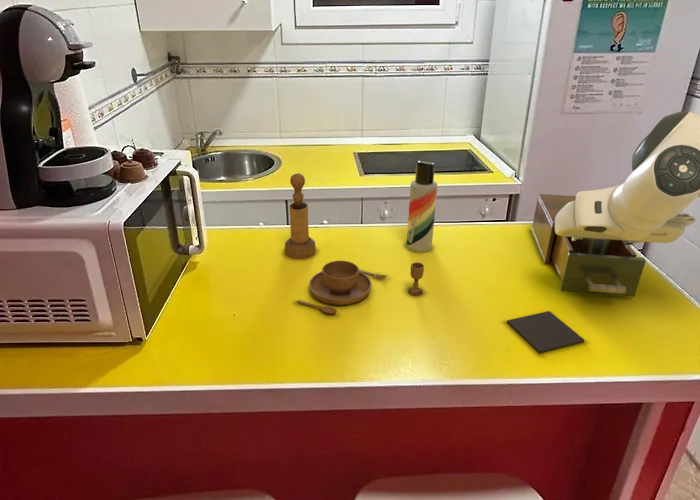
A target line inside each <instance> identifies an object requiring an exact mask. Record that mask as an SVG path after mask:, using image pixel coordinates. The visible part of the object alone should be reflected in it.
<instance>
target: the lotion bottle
mask: <svg viewBox="0 0 700 500" xmlns="http://www.w3.org/2000/svg"><path fill="white" fill-rule="evenodd" d="M415 165H416V166H415V177H414V180H412V181H411V182H410V186H409V200H408V201H409V203H408V215H407V231H406V247H407V249H408V250H410V251H413V252H417V253H424V252H425V253H426V252H428V251H430V250H431V249H432V246H433V240H434V239H433V238H434V228H435V215H436V207H437V206H436V205H437V195H438V183H437V182H436V181H435V180H434V179H435V169H436V168H435V166H436V163H435V162H432V161H428V160H423V159H419V160H417V161H416V164H415Z"/></svg>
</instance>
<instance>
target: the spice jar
mask: <svg viewBox="0 0 700 500" xmlns="http://www.w3.org/2000/svg"><path fill="white" fill-rule="evenodd" d="M610 241H611V239H596V238H583V242H582V246H581V250H580V253H582V254H596V255H607V252H608V249H609V245H610Z"/></svg>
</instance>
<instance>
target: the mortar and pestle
mask: <svg viewBox="0 0 700 500" xmlns="http://www.w3.org/2000/svg"><path fill="white" fill-rule="evenodd" d="M289 183H290V184H291V187H292V188H293V191H294V193H293V194H292V199H293V202H292V203H290V204H289V206H288V208H289V227H290V237H289V238H288V239H287V240H286V241H285V243H284V253H285V255H286V256H287V257H288V258H291V259H296V260H303V259H309V258H311V257H313V256H314V255H315V254H316V251H317V249H316V240H314V239H313V238H312V237H310V232H309V231H310V230H309V205H308V203H306V202H304V196H305V194H304V193H302V190H303V188H304V186H305V184H306V178H305V176H304V175H303V174H302V173H299V172H298V173H297V172H296V173H294V174H292V175H291V177H290V179H289Z"/></svg>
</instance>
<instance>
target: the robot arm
mask: <svg viewBox="0 0 700 500" xmlns="http://www.w3.org/2000/svg"><path fill="white" fill-rule="evenodd" d="M631 170H632V172H631V173H629V175H628V176H627V178H626V179H625V181H624V182H623V183H621V184H619V185H614V186H610V187H606V188H600V189H591V190H581V191H578V192H577V193H576V195H575V196H576V200H575V201H572V202H570V203H568V204H566V205H565V206H564V207H563V208H562V209H561V210H560V211H559V212H558V214H557V215H556V217H555V233H556V234H557V235H558V236H567V237H572V241H579V242H580V241H581V240H583V238H596V239H611V240H624V244H625V245H630V246H634V245H635V244H638V243H655V244H656V243H658V244H671V243H674V242H675V241H677V240H678V239H679V238H680V237H682V235H683V234H684V233H685V231H686V228H687V227H690V226H691V225H693V224H694V223H695V221H696V218H695V216H692V215H691V214H690V213H686V212H683V211H684V210H686V209H687V208H688V207H689V206H690V205H691V204H692V203H694V201H695V200H696V199H697V198H700V115H699V114H697V113H694V112H692V111H690V110H684V111H678V112H675V113H671V114H669V115H665V116H664V117H662V118H661V120H659V122H658V123H657V124H656V125H655V126H654V127H653V128H652V130H651V131H650V132H649V133H648V134H647V135H646V136H645V137H644V138H643V139H642V141H641V142H639V144H638V146H637V147H636V148H635V150H634V152H633V154H632V156H631Z"/></svg>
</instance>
